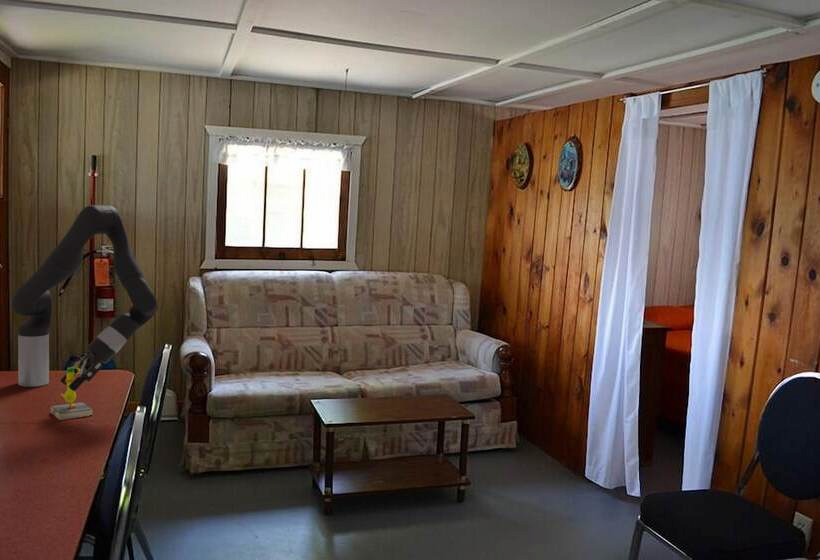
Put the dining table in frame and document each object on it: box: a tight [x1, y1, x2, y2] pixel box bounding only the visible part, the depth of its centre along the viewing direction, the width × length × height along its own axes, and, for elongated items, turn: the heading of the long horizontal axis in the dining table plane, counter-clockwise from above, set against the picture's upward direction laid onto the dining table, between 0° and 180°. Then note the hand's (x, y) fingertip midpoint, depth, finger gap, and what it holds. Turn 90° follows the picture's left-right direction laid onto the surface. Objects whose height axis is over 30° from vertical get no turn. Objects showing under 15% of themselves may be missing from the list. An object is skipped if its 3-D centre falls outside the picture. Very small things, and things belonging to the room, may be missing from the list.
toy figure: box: [60, 367, 77, 408], centre depth 209 cm, size 7×4×12 cm, turn 113°
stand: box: [50, 401, 93, 421], centre depth 209 cm, size 9×9×2 cm
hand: (66, 386), depth 208 cm, fingers open, 8 cm apart
